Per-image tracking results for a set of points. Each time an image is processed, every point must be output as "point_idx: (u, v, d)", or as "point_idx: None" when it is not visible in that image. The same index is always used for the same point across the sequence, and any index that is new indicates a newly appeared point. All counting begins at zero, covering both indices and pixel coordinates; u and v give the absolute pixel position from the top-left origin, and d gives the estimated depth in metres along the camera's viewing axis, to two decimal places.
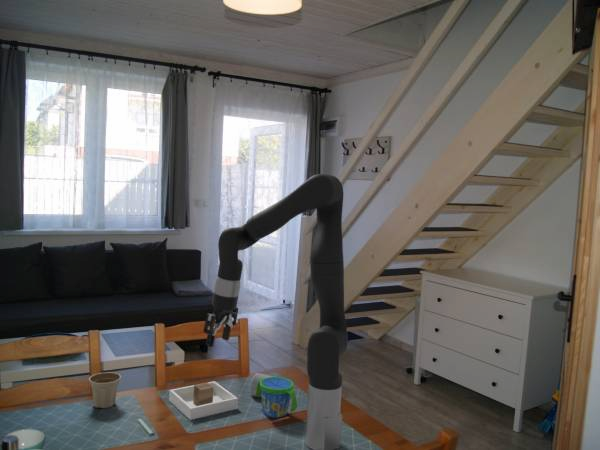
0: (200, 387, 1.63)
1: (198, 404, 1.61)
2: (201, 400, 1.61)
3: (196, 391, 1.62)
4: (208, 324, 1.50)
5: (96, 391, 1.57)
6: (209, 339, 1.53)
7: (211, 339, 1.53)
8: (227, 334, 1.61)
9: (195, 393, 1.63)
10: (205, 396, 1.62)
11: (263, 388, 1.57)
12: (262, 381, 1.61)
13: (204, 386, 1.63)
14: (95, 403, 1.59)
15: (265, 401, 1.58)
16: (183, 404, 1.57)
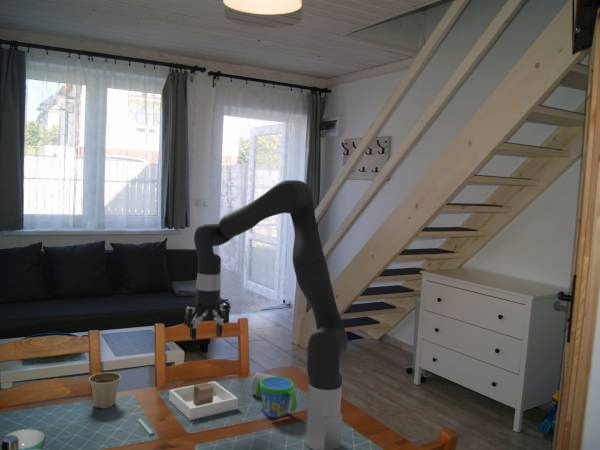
0: (200, 387, 1.63)
1: (198, 404, 1.61)
2: (201, 400, 1.61)
3: (196, 391, 1.62)
4: (186, 317, 1.58)
5: (96, 391, 1.57)
6: (191, 332, 1.59)
7: (192, 332, 1.59)
8: (218, 331, 1.64)
9: (195, 393, 1.63)
10: (205, 396, 1.62)
11: (263, 388, 1.57)
12: (262, 381, 1.61)
13: (204, 386, 1.63)
14: (95, 403, 1.59)
15: (265, 401, 1.58)
16: (183, 404, 1.57)
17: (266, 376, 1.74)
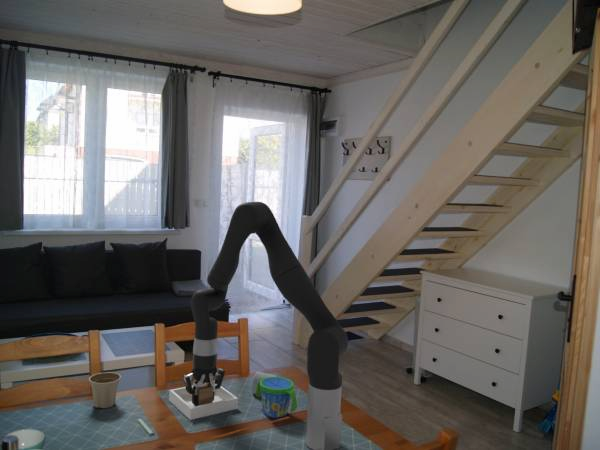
0: None
1: (198, 404, 1.61)
2: (201, 400, 1.61)
3: None
4: (186, 385, 1.60)
5: (96, 391, 1.57)
6: (193, 398, 1.61)
7: (194, 398, 1.61)
8: None
9: None
10: (205, 396, 1.62)
11: (263, 388, 1.57)
12: (262, 381, 1.61)
13: (204, 386, 1.63)
14: (95, 403, 1.59)
15: (265, 401, 1.58)
16: (183, 404, 1.57)
17: (267, 375, 1.74)
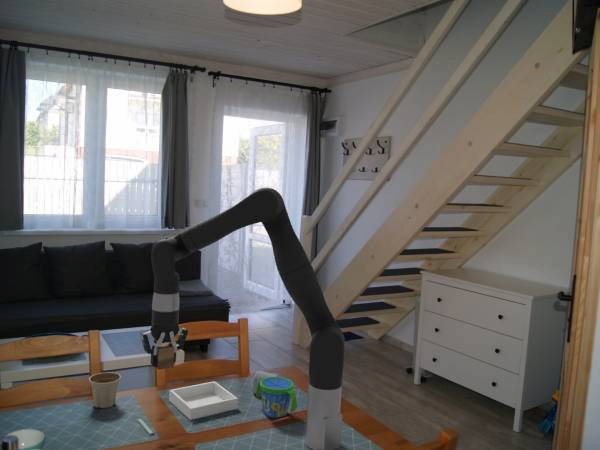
0: None
1: (157, 365, 1.47)
2: (160, 360, 1.47)
3: None
4: (143, 343, 1.46)
5: (96, 391, 1.57)
6: (151, 359, 1.47)
7: (153, 359, 1.47)
8: None
9: None
10: (164, 357, 1.47)
11: (263, 388, 1.57)
12: (262, 381, 1.61)
13: (164, 346, 1.49)
14: (95, 403, 1.59)
15: (265, 401, 1.58)
16: (183, 404, 1.57)
17: (267, 374, 1.75)
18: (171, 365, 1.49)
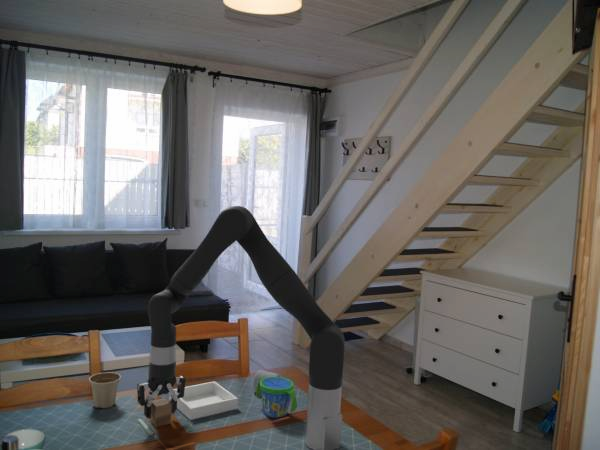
0: (157, 403, 1.49)
1: (154, 422, 1.48)
2: (157, 418, 1.47)
3: (153, 408, 1.49)
4: (138, 394, 1.46)
5: (96, 391, 1.57)
6: (145, 410, 1.47)
7: (147, 410, 1.47)
8: (172, 407, 1.52)
9: (151, 410, 1.50)
10: (162, 414, 1.48)
11: (263, 388, 1.57)
12: (262, 381, 1.61)
13: (161, 402, 1.50)
14: (95, 403, 1.59)
15: (265, 401, 1.58)
16: (183, 404, 1.57)
17: (268, 374, 1.76)
18: (168, 422, 1.50)
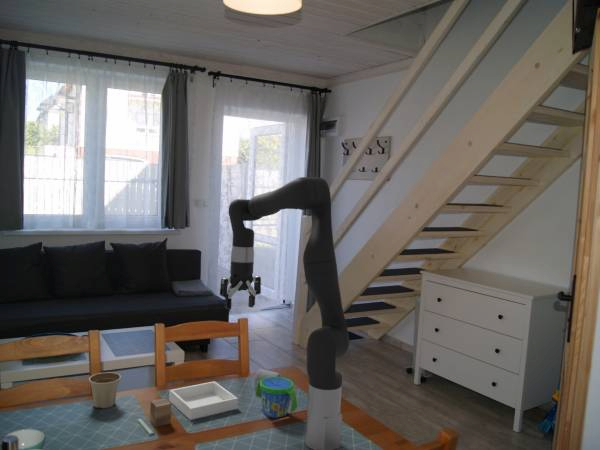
0: (157, 403, 1.49)
1: (154, 422, 1.48)
2: (157, 418, 1.47)
3: (153, 408, 1.49)
4: (222, 287, 1.66)
5: (96, 391, 1.57)
6: (226, 302, 1.68)
7: (228, 302, 1.68)
8: (251, 301, 1.73)
9: (151, 410, 1.50)
10: (162, 414, 1.48)
11: (263, 388, 1.57)
12: (262, 381, 1.61)
13: (161, 402, 1.50)
14: (95, 403, 1.59)
15: (265, 401, 1.58)
16: (183, 404, 1.57)
17: (269, 373, 1.77)
18: (168, 422, 1.50)
